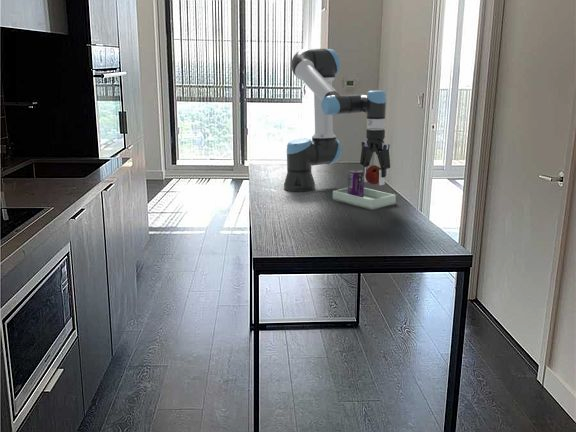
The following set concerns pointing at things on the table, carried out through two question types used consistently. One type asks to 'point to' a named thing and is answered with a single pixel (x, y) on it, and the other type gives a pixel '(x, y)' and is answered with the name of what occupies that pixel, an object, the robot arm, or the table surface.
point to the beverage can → (356, 183)
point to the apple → (373, 174)
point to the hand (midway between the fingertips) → (374, 183)
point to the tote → (365, 198)
